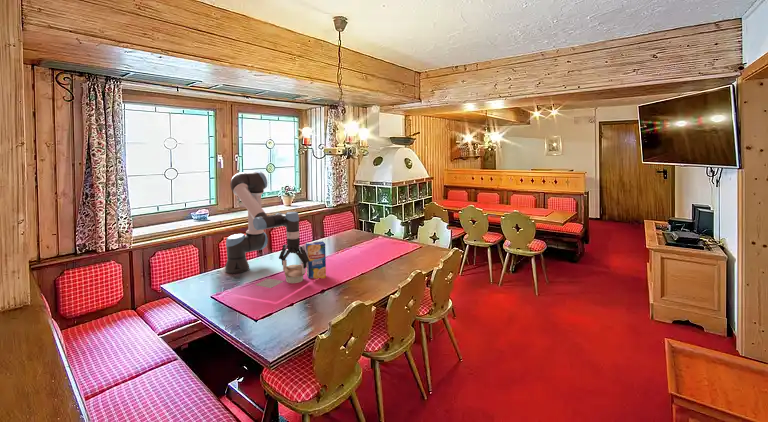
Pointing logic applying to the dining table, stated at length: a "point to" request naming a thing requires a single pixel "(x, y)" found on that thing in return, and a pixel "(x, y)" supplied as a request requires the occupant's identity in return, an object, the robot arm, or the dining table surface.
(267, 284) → the mat
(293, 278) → the bowl
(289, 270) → the lid
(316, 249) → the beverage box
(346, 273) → the dining table surface
